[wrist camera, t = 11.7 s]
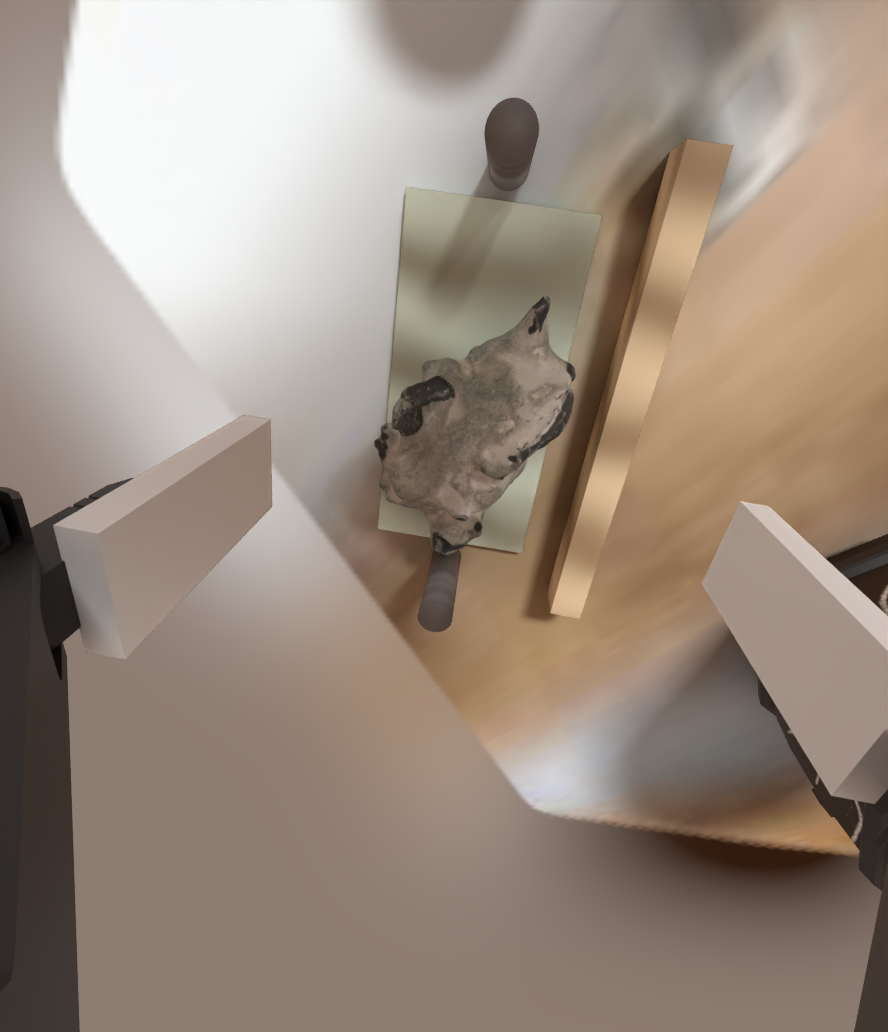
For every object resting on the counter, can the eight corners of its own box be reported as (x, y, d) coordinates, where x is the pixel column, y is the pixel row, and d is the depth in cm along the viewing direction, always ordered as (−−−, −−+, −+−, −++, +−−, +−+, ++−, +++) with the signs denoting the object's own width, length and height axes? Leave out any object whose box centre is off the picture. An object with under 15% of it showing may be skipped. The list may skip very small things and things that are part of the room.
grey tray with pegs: (413, 115, 24) (383, 61, 18) (711, 157, 24) (786, 117, 18) (375, 562, 36) (349, 623, 30) (575, 596, 36) (590, 666, 29)
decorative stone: (500, 563, 34) (457, 643, 25) (383, 504, 35) (302, 559, 26) (617, 326, 27) (616, 317, 18) (466, 265, 28) (396, 228, 19)
